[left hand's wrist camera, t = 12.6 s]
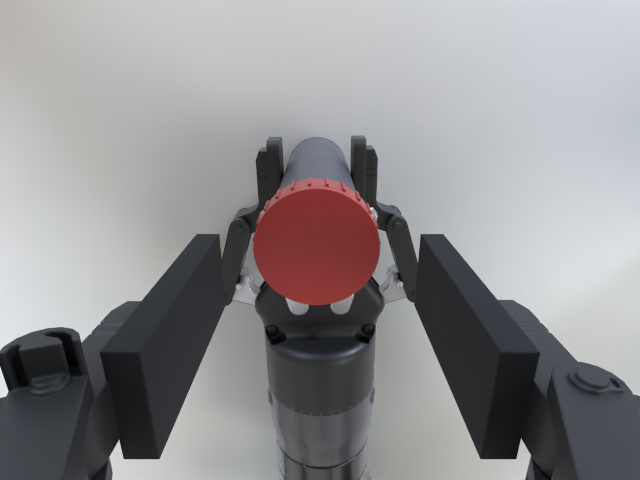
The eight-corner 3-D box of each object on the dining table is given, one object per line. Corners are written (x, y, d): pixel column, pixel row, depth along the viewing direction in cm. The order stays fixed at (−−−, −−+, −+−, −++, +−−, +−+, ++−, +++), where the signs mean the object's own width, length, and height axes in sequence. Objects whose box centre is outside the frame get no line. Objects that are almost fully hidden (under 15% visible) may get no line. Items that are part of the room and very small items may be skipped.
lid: (242, 265, 17) (234, 283, 16) (280, 157, 16) (275, 166, 14) (348, 301, 18) (351, 322, 16) (395, 201, 16) (404, 214, 15)
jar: (281, 182, 30) (248, 273, 16) (300, 128, 29) (283, 176, 15) (333, 201, 31) (346, 306, 17) (354, 149, 30) (388, 216, 15)
